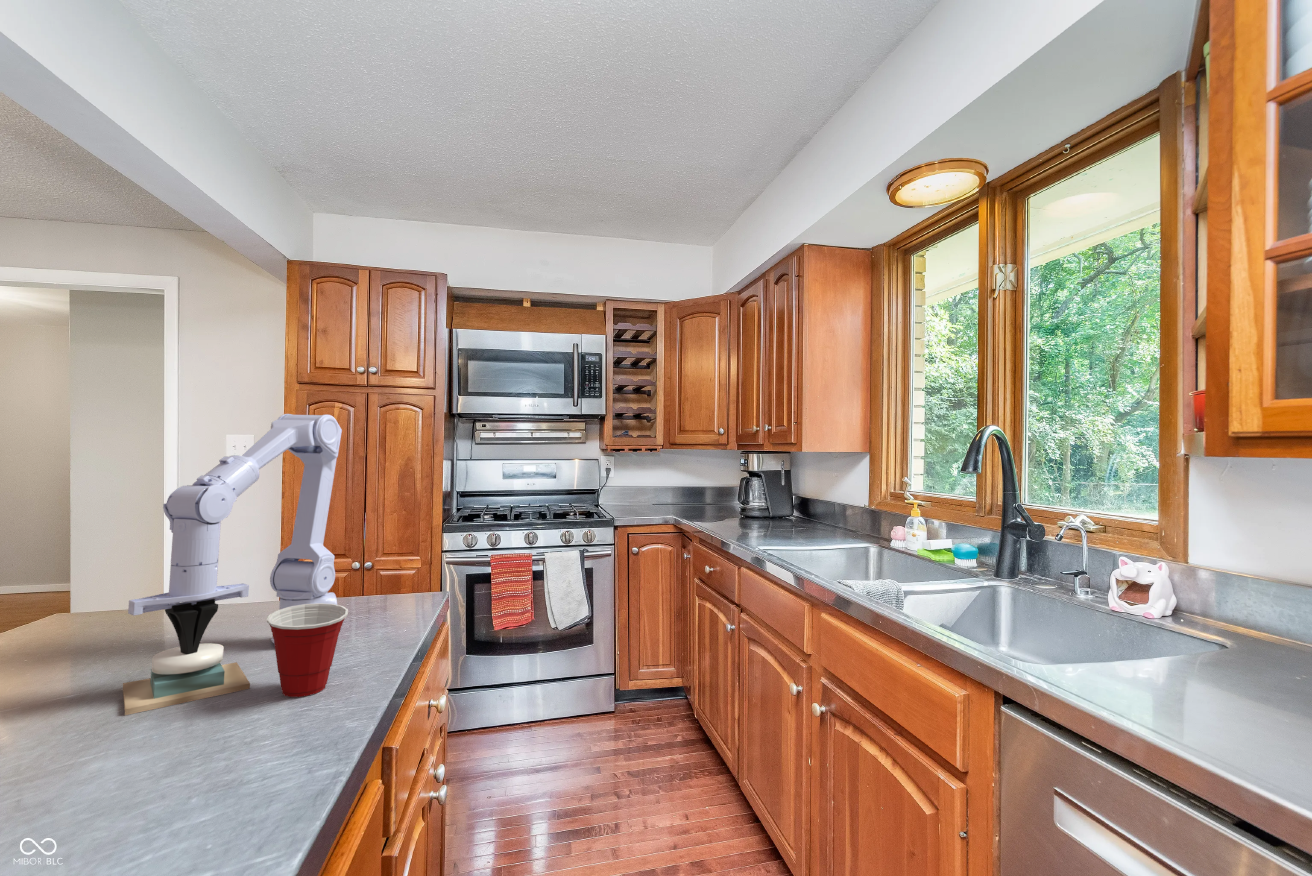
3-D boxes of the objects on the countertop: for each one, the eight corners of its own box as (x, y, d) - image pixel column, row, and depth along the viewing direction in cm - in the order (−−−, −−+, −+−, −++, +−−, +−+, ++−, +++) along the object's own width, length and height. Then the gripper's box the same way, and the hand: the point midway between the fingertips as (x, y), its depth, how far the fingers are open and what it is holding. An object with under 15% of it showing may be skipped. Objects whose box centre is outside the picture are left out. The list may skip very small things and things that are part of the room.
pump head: (217, 666, 92) (219, 640, 92) (225, 681, 86) (227, 653, 86) (148, 679, 86) (150, 650, 86) (152, 696, 80) (154, 666, 80)
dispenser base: (236, 667, 95) (237, 650, 95) (249, 688, 86) (250, 670, 87) (122, 688, 85) (123, 669, 85) (124, 715, 77) (126, 694, 77)
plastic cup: (264, 712, 79) (269, 625, 79) (259, 686, 87) (264, 608, 88) (350, 694, 86) (355, 614, 86) (338, 672, 94) (342, 599, 95)
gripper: (236, 554, 95) (231, 636, 94) (122, 566, 82) (116, 660, 82) (257, 559, 91) (252, 643, 91) (142, 572, 79) (135, 670, 78)
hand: (188, 652), depth 86 cm, fingers closed, pressing on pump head
